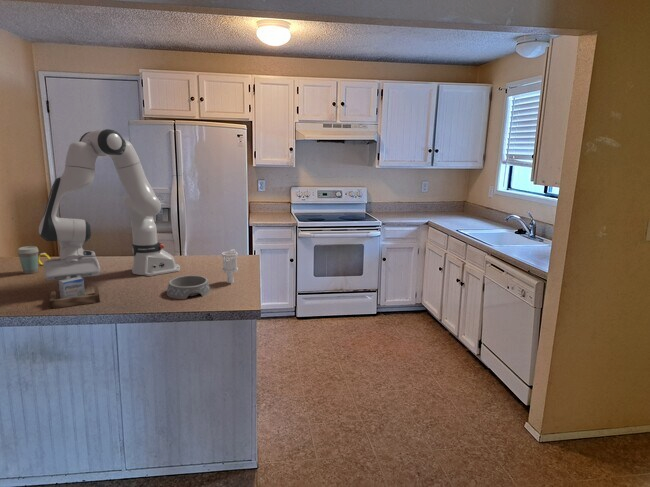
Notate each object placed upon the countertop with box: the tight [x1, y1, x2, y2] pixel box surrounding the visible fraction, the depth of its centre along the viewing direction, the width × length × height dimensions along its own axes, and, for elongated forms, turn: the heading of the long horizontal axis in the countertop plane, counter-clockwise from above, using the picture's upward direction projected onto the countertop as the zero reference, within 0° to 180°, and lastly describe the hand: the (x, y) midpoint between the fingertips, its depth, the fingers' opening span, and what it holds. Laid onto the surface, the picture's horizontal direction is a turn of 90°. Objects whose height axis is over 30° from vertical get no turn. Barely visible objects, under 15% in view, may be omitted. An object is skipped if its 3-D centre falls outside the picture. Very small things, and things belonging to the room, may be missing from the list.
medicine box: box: [57, 277, 86, 299], centre depth 179 cm, size 8×4×9 cm, turn 141°
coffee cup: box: [17, 245, 40, 275], centre depth 213 cm, size 9×9×12 cm
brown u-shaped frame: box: [49, 285, 101, 310], centre depth 180 cm, size 17×12×3 cm
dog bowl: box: [166, 274, 211, 300], centre depth 193 cm, size 17×18×5 cm
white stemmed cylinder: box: [221, 248, 239, 284], centre depth 205 cm, size 7×7×15 cm
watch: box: [38, 252, 51, 266], centre depth 226 cm, size 6×3×6 cm, turn 87°
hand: (74, 286), depth 183 cm, fingers closed
